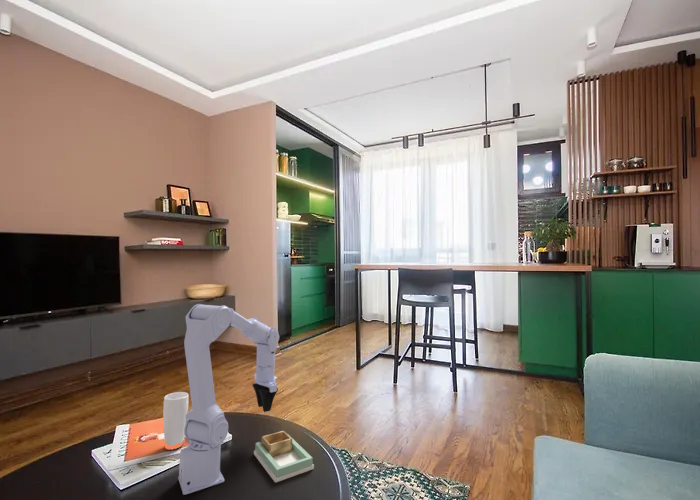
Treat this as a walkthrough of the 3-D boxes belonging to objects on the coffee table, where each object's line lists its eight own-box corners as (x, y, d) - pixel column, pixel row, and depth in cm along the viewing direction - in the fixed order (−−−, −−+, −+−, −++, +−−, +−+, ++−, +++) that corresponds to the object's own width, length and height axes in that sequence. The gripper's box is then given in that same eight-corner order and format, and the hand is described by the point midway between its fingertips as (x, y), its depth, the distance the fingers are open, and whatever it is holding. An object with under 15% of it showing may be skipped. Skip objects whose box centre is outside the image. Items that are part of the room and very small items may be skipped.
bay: (275, 482, 86) (275, 470, 86) (253, 454, 99) (254, 443, 99) (313, 468, 92) (314, 457, 92) (288, 443, 105) (289, 433, 105)
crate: (268, 458, 95) (269, 445, 95) (261, 448, 100) (261, 436, 100) (292, 451, 99) (292, 438, 99) (283, 442, 104) (283, 430, 104)
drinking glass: (164, 442, 105) (166, 392, 106) (188, 439, 107) (190, 390, 108) (158, 454, 98) (161, 400, 99) (184, 450, 100) (187, 398, 101)
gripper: (286, 368, 106) (285, 413, 105) (269, 358, 117) (267, 398, 117) (264, 372, 102) (263, 419, 101) (248, 361, 113) (247, 403, 113)
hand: (264, 408), depth 108 cm, fingers open, 4 cm apart
